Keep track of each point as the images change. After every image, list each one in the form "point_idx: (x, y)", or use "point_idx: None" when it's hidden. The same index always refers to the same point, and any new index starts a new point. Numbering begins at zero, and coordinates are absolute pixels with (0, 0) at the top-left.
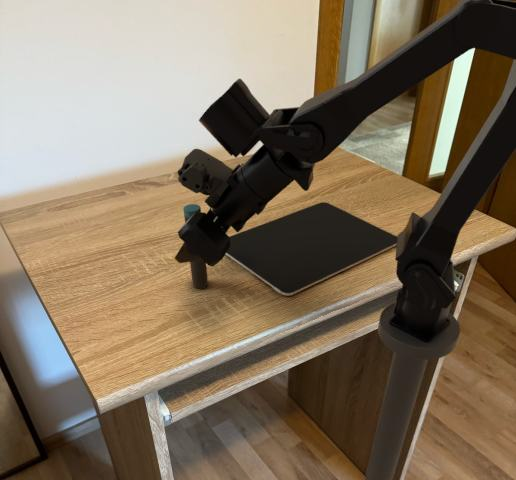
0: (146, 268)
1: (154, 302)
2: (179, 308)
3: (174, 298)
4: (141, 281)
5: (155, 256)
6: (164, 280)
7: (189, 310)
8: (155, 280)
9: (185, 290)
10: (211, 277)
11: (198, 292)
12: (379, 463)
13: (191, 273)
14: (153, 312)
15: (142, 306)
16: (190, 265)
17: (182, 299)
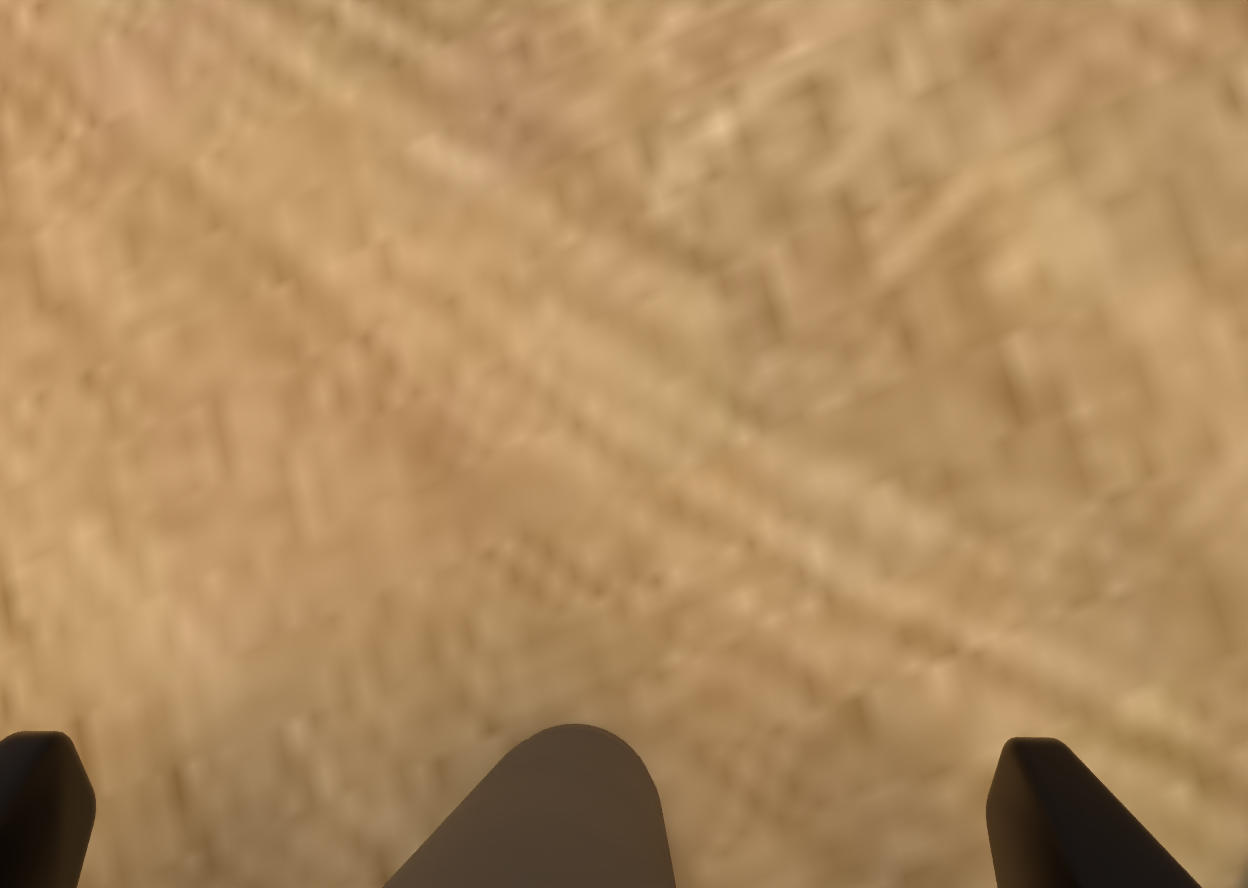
0: (738, 107)
1: (170, 442)
2: (117, 738)
3: (276, 617)
4: (496, 160)
5: (988, 99)
6: (569, 381)
7: (101, 858)
8: (546, 290)
9: (441, 677)
10: (754, 878)
11: None
12: None
13: (508, 754)
14: (7, 502)
15: (84, 354)
16: (498, 768)
17: (275, 708)
